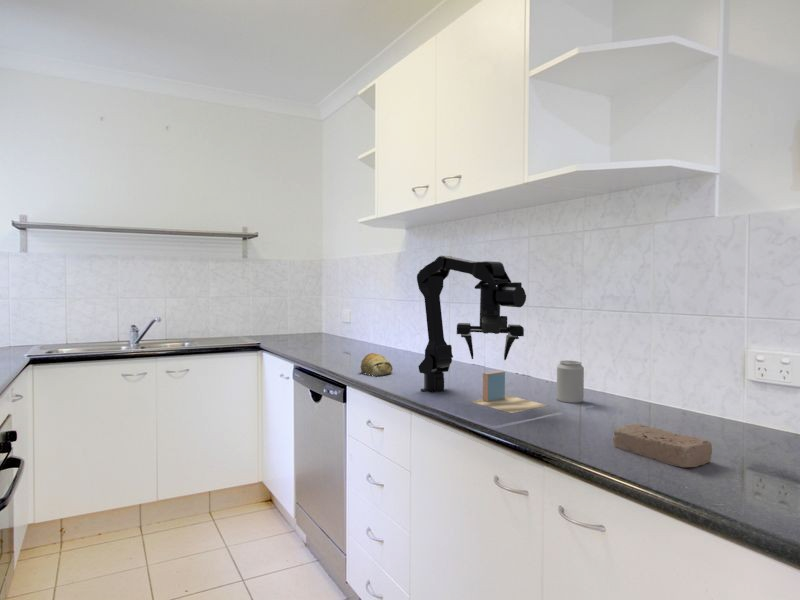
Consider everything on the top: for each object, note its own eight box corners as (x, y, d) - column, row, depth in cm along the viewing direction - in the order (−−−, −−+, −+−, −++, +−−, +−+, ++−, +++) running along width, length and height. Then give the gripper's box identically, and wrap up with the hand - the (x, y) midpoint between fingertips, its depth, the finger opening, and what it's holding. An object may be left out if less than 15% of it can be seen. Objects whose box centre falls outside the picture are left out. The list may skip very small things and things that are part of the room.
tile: (482, 400, 146) (482, 373, 146) (499, 397, 150) (500, 370, 150) (488, 401, 144) (488, 374, 144) (505, 398, 148) (505, 371, 148)
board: (470, 403, 145) (470, 401, 145) (506, 397, 153) (506, 395, 153) (511, 415, 132) (511, 413, 132) (549, 407, 140) (549, 405, 140)
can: (585, 405, 142) (586, 363, 142) (558, 404, 144) (558, 362, 143) (581, 399, 150) (581, 359, 149) (555, 398, 151) (555, 359, 151)
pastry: (365, 370, 203) (365, 350, 203) (395, 371, 200) (395, 351, 200) (355, 376, 189) (355, 355, 189) (388, 377, 186) (388, 356, 186)
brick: (610, 447, 107) (611, 425, 106) (635, 441, 111) (635, 420, 111) (688, 473, 92) (689, 447, 92) (713, 464, 96) (714, 440, 96)
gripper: (457, 306, 136) (455, 363, 137) (527, 308, 134) (525, 365, 135) (457, 303, 147) (456, 356, 148) (522, 305, 145) (520, 358, 146)
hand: (488, 359), depth 144 cm, fingers open, 9 cm apart
